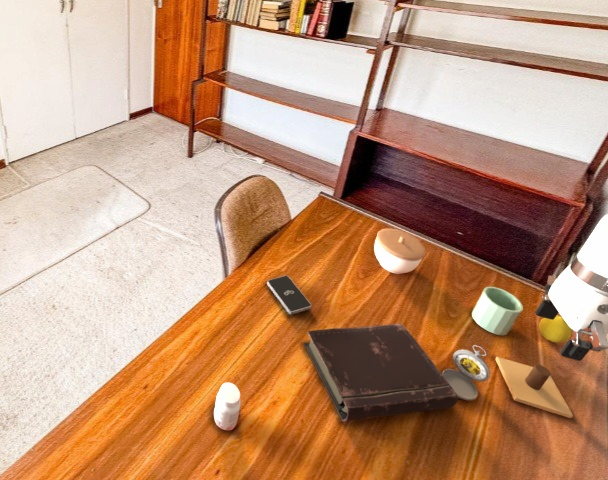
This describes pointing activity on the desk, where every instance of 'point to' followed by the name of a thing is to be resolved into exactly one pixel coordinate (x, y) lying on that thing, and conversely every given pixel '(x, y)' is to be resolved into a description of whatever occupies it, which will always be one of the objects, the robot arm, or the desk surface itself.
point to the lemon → (555, 329)
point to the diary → (377, 372)
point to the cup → (497, 310)
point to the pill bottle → (227, 406)
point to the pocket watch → (467, 373)
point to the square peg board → (533, 386)
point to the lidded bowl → (398, 250)
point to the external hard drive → (289, 295)
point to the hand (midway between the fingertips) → (556, 335)
